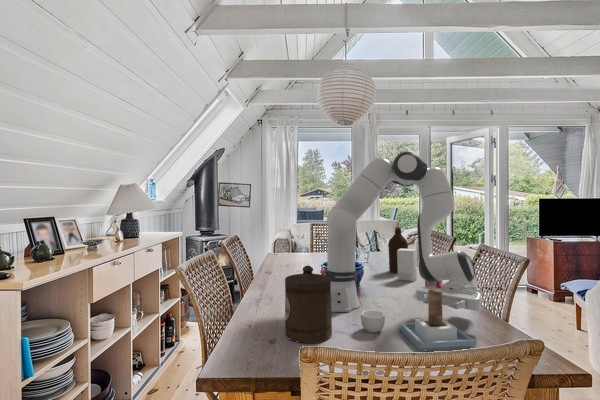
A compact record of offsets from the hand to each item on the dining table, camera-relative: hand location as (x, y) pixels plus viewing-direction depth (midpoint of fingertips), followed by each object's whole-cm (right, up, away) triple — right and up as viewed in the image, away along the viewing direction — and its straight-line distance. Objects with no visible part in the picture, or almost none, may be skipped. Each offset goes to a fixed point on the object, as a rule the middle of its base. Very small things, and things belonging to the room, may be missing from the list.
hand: (440, 303), depth 118 cm
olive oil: (+11, -8, +92) cm, 93 cm away
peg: (-3, -9, -3) cm, 10 cm away
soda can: (+17, -9, +53) cm, 56 cm away
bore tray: (-3, -10, -3) cm, 11 cm away
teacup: (-20, -10, +6) cm, 23 cm away
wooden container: (-41, -11, +2) cm, 43 cm away
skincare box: (+11, -8, +74) cm, 75 cm away
